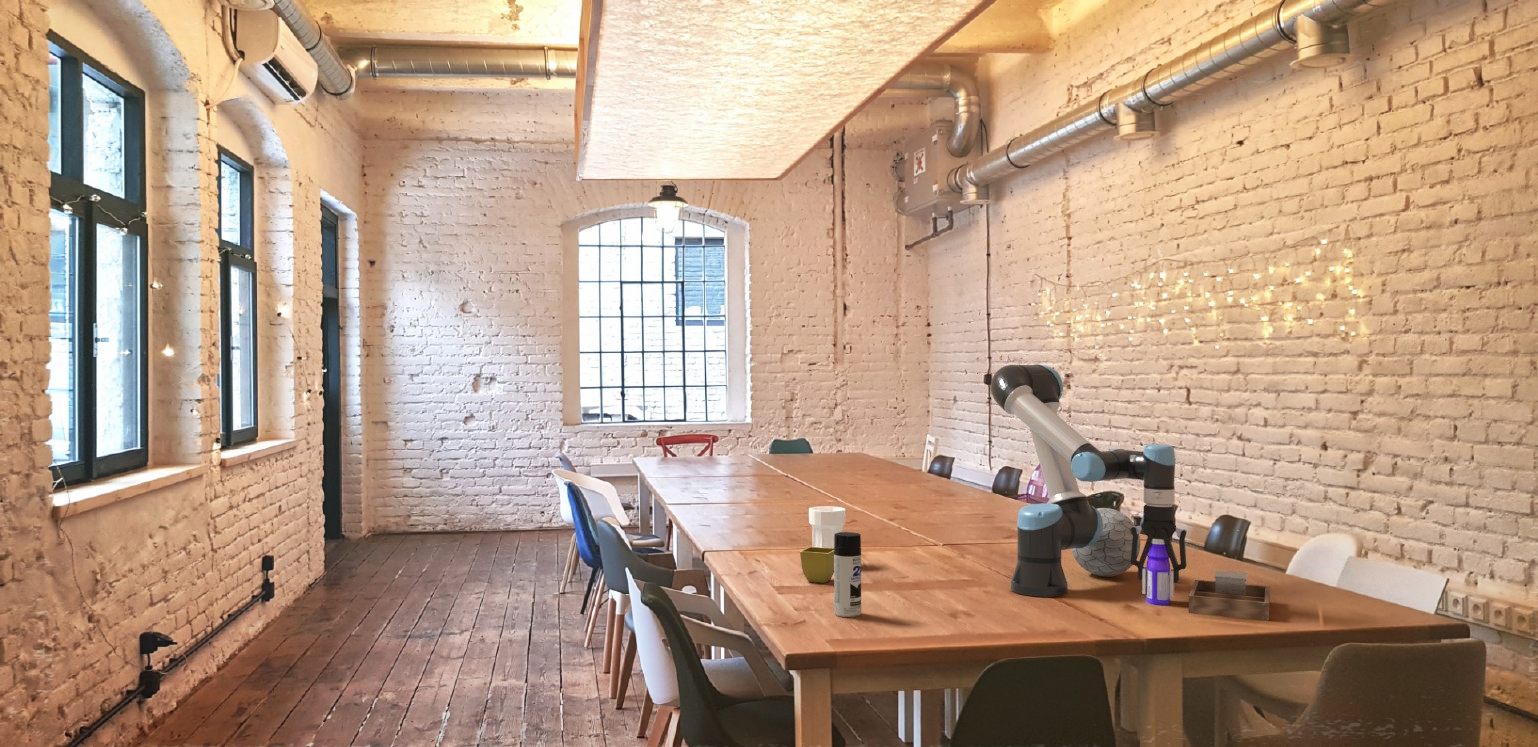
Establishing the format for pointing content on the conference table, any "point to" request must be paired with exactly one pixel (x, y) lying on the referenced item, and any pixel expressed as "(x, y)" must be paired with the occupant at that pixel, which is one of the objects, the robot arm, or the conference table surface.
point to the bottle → (1158, 574)
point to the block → (1230, 583)
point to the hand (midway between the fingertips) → (1158, 593)
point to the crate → (1230, 601)
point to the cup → (826, 524)
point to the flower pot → (817, 563)
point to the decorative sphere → (1109, 546)
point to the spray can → (847, 574)
